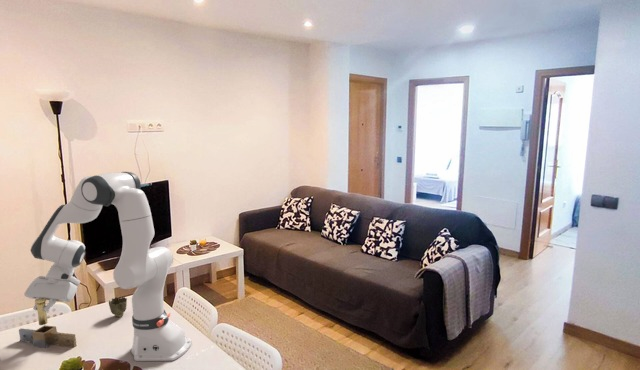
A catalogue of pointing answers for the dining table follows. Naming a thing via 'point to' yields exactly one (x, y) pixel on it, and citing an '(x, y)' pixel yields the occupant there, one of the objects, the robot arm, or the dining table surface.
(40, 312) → the hinge pin
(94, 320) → the dining table surface
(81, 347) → the dining table surface
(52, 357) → the dining table surface
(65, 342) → the hinge
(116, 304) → the cup
